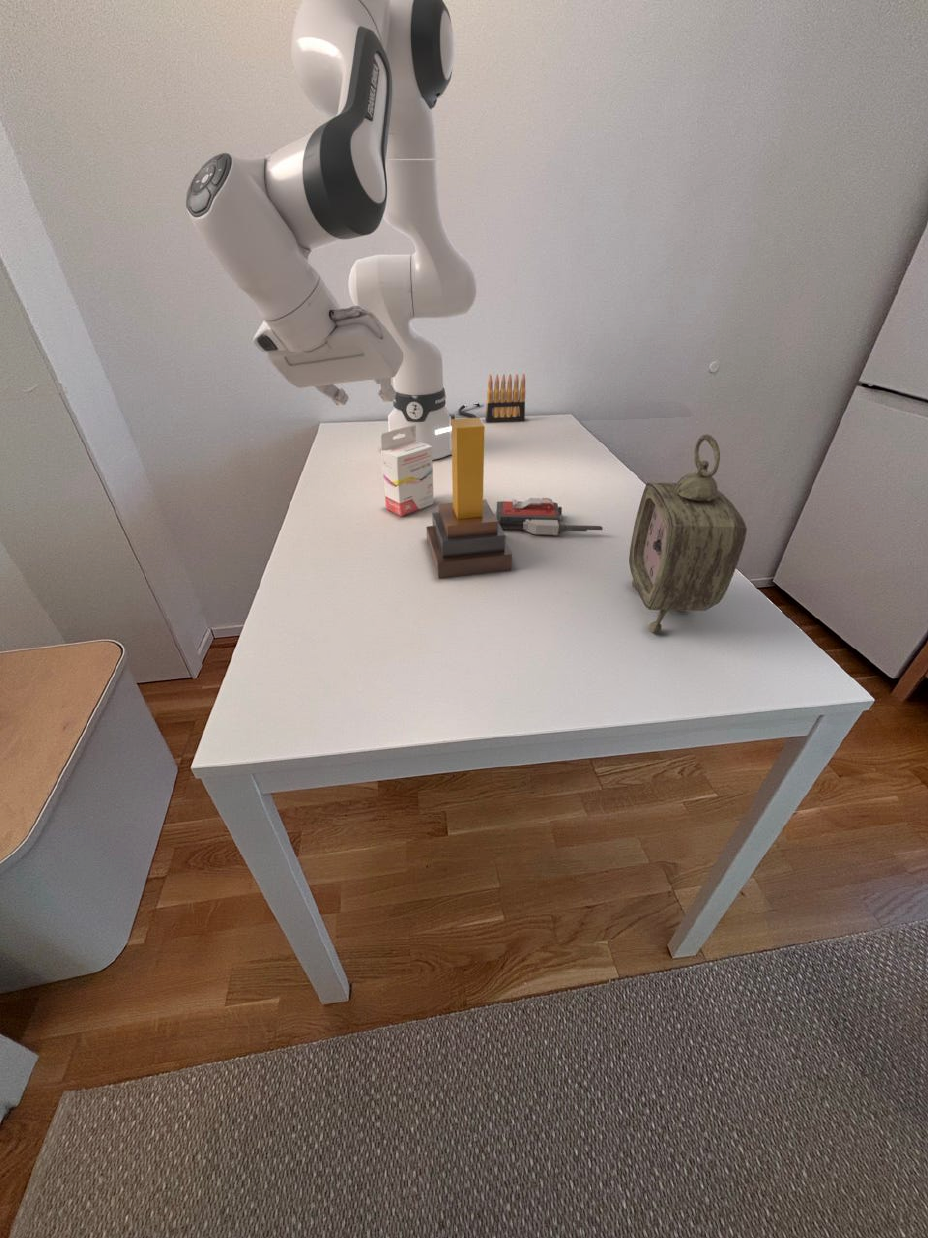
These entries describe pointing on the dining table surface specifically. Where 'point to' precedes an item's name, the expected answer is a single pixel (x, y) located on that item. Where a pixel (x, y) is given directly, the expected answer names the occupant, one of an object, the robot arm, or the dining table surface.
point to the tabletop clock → (685, 542)
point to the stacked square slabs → (467, 543)
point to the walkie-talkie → (535, 517)
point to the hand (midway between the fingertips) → (366, 400)
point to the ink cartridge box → (406, 471)
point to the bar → (467, 467)
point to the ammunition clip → (505, 400)
